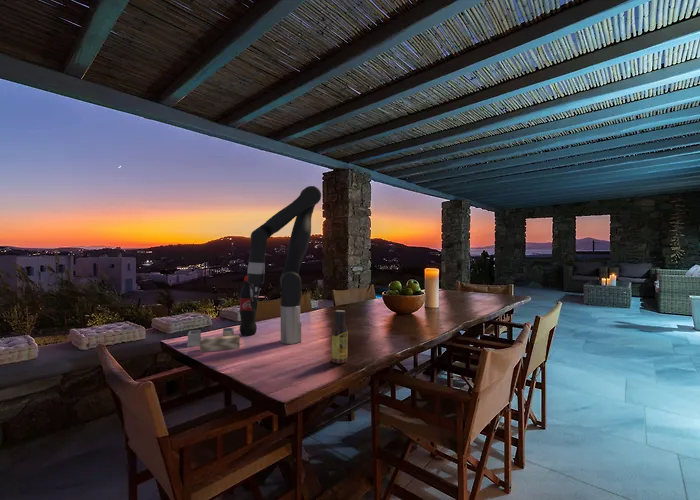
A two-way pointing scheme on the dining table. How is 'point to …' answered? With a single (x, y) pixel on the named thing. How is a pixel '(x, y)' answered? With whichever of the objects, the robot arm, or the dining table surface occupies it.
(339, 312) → the sauce bottle
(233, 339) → the patterned beige block
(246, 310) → the cola bottle
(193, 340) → the brackets
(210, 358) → the dining table surface
